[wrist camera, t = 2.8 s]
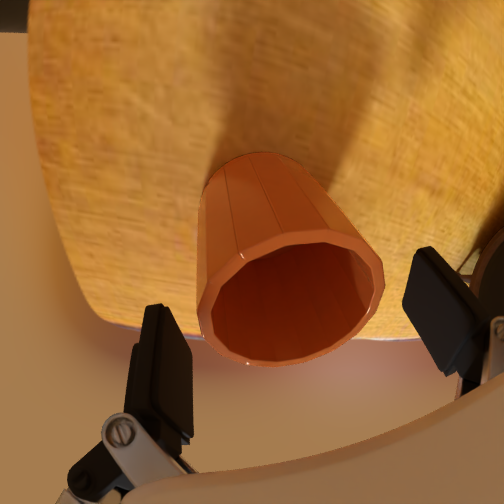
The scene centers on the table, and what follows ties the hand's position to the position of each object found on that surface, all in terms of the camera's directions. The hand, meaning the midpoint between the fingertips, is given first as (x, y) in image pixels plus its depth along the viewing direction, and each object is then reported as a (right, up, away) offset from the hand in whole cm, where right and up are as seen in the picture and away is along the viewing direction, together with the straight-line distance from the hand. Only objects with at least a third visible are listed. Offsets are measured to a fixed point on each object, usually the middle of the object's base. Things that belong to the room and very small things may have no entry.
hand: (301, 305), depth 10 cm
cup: (-1, +4, +5) cm, 7 cm away
